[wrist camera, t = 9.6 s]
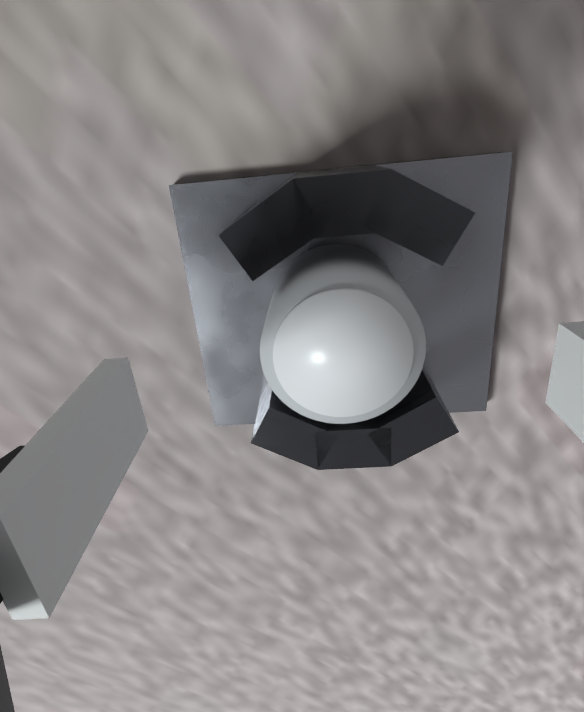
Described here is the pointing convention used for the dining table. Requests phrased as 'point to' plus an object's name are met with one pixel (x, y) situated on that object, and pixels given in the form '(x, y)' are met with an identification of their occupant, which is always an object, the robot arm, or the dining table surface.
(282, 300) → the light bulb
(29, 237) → the dining table surface
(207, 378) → the ball joint mount
